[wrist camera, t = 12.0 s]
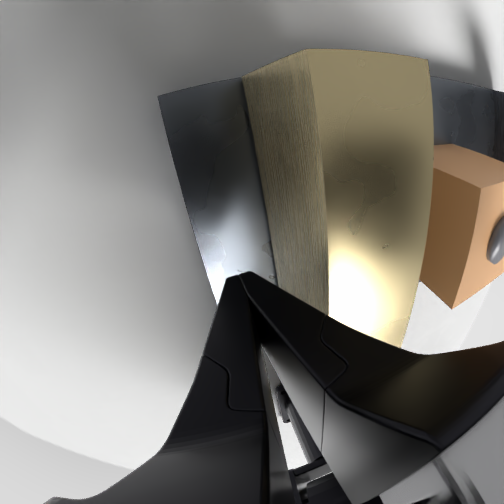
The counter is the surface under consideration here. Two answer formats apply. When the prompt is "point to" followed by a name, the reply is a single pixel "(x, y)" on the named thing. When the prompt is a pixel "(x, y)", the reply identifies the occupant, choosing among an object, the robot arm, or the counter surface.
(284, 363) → the robot arm
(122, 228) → the counter surface
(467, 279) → the block
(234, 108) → the vise bed
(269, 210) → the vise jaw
